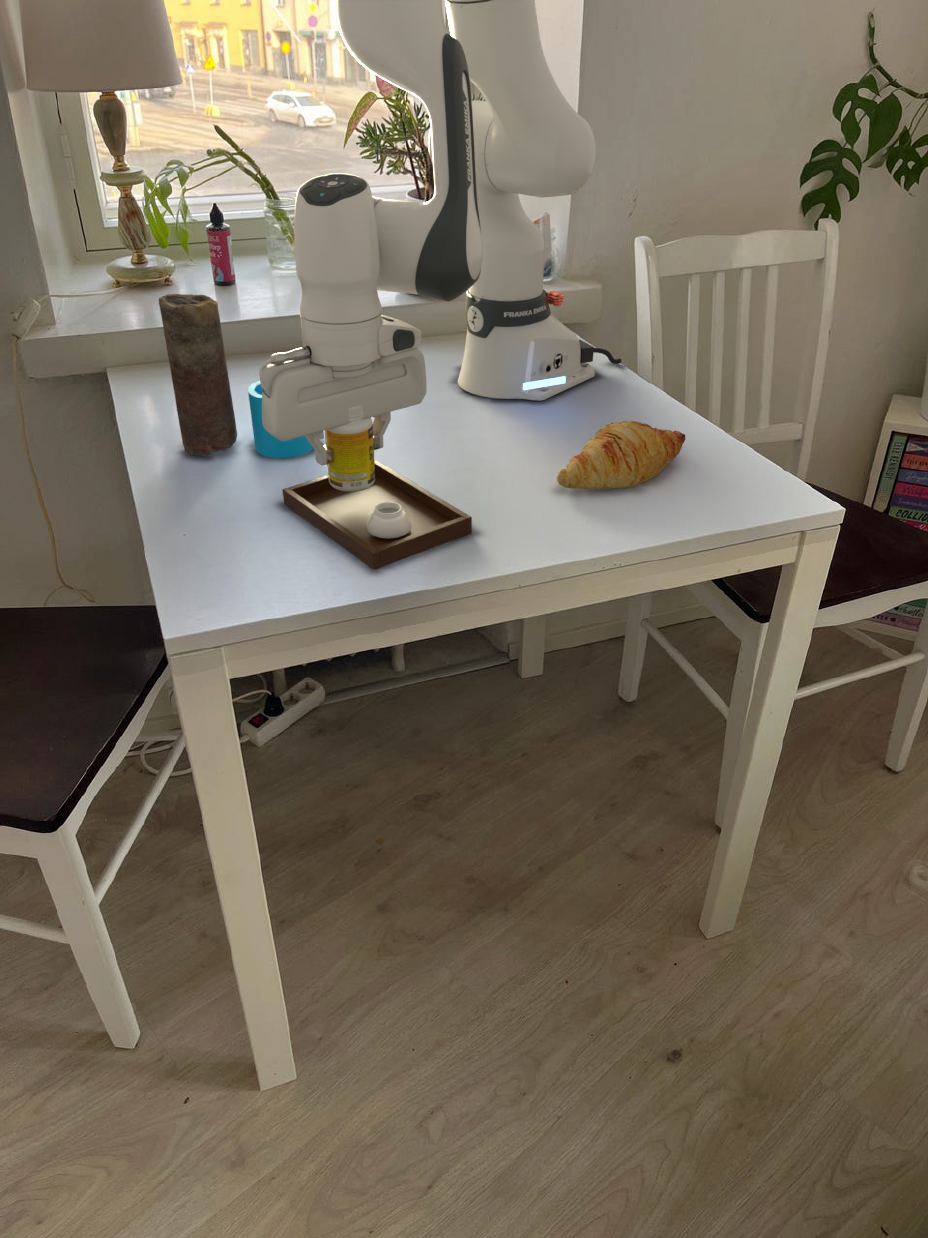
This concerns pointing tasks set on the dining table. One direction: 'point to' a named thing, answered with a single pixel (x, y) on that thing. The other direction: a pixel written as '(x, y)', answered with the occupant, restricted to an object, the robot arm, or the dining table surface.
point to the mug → (264, 439)
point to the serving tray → (352, 510)
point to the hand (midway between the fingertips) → (350, 455)
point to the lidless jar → (388, 521)
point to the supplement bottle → (352, 453)
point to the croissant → (621, 456)
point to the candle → (199, 372)
